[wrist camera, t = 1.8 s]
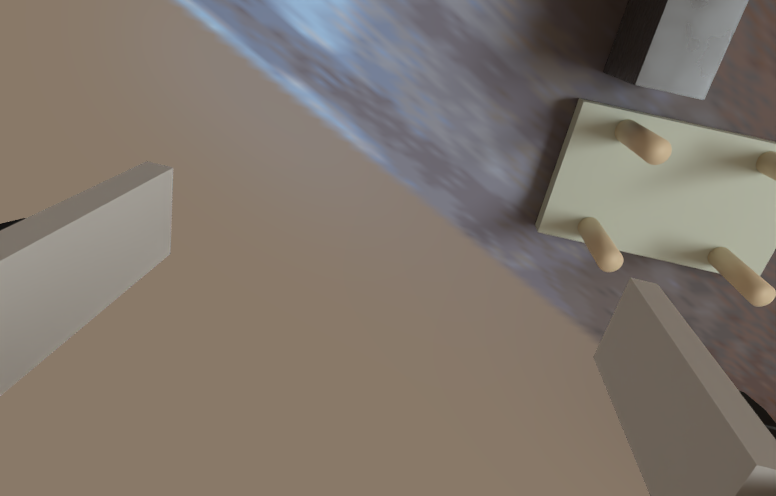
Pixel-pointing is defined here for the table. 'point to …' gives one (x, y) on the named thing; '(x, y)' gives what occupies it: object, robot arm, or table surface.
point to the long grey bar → (673, 43)
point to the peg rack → (665, 194)
